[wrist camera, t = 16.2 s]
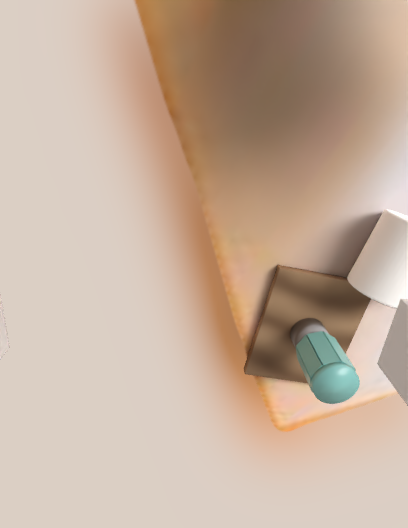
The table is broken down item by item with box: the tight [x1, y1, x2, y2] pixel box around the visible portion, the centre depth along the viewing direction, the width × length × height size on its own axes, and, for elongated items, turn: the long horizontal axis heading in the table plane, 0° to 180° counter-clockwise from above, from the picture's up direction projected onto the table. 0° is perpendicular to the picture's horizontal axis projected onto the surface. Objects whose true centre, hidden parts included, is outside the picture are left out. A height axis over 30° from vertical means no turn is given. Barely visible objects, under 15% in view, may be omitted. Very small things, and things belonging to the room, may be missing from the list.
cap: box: [296, 331, 359, 404], centre depth 44 cm, size 5×5×7 cm
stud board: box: [244, 265, 371, 383], centre depth 47 cm, size 18×14×10 cm
